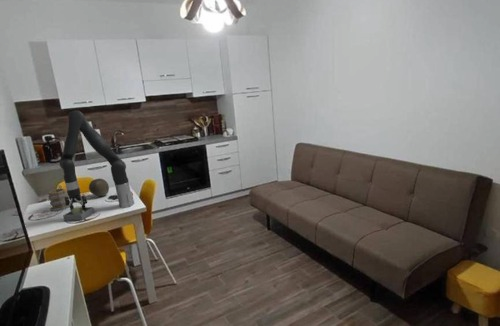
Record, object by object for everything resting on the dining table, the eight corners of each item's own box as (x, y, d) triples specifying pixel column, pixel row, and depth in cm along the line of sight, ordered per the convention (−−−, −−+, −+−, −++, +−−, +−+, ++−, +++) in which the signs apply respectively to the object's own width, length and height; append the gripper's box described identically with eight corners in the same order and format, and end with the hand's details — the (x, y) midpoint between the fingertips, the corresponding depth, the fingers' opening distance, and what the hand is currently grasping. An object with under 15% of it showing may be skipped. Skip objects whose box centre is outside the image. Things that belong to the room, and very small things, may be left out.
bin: (94, 212, 213) (93, 207, 212) (82, 220, 200) (80, 214, 199) (77, 213, 215) (76, 207, 214) (64, 221, 202) (62, 215, 201)
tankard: (68, 209, 225) (63, 190, 222) (49, 212, 222) (44, 193, 218) (74, 200, 244) (70, 183, 240) (57, 203, 240) (52, 186, 237)
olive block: (85, 214, 209) (83, 206, 208) (80, 217, 204) (78, 208, 203) (78, 214, 210) (76, 206, 208) (73, 217, 205) (71, 209, 204)
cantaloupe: (107, 192, 258) (103, 175, 254) (112, 195, 248) (108, 177, 244) (89, 197, 249) (85, 180, 245) (94, 200, 239) (90, 182, 235)
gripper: (86, 185, 205) (91, 207, 209) (67, 186, 207) (72, 208, 211) (78, 189, 198) (84, 212, 201) (59, 190, 200) (65, 213, 204)
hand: (78, 210), depth 206 cm, fingers open, 8 cm apart
